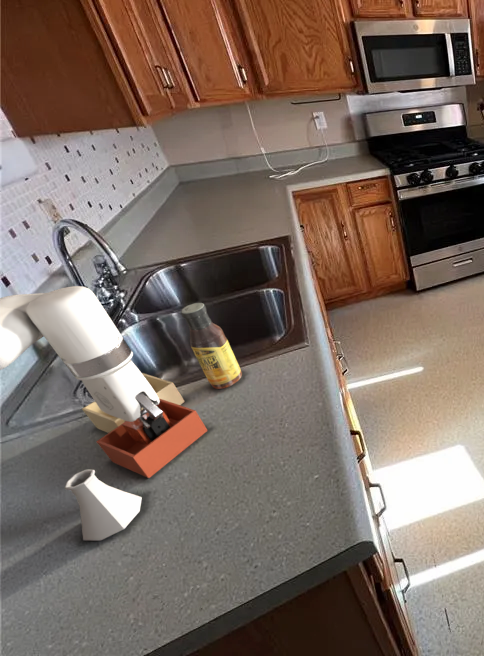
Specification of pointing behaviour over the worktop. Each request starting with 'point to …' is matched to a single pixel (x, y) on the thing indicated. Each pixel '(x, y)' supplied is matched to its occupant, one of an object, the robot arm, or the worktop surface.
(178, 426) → the terracotta bin
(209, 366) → the sauce bottle
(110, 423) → the cream bin
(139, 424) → the terracotta block
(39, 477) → the worktop surface
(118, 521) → the flask
